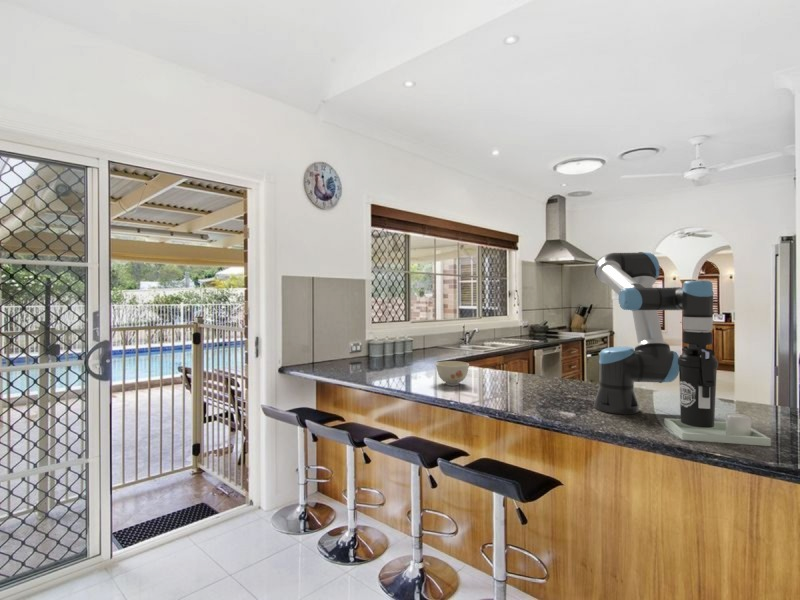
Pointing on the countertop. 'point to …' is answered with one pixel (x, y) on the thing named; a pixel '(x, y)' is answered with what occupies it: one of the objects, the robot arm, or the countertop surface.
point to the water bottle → (695, 390)
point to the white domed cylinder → (738, 424)
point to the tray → (714, 433)
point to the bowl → (452, 371)
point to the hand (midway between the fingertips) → (697, 403)
